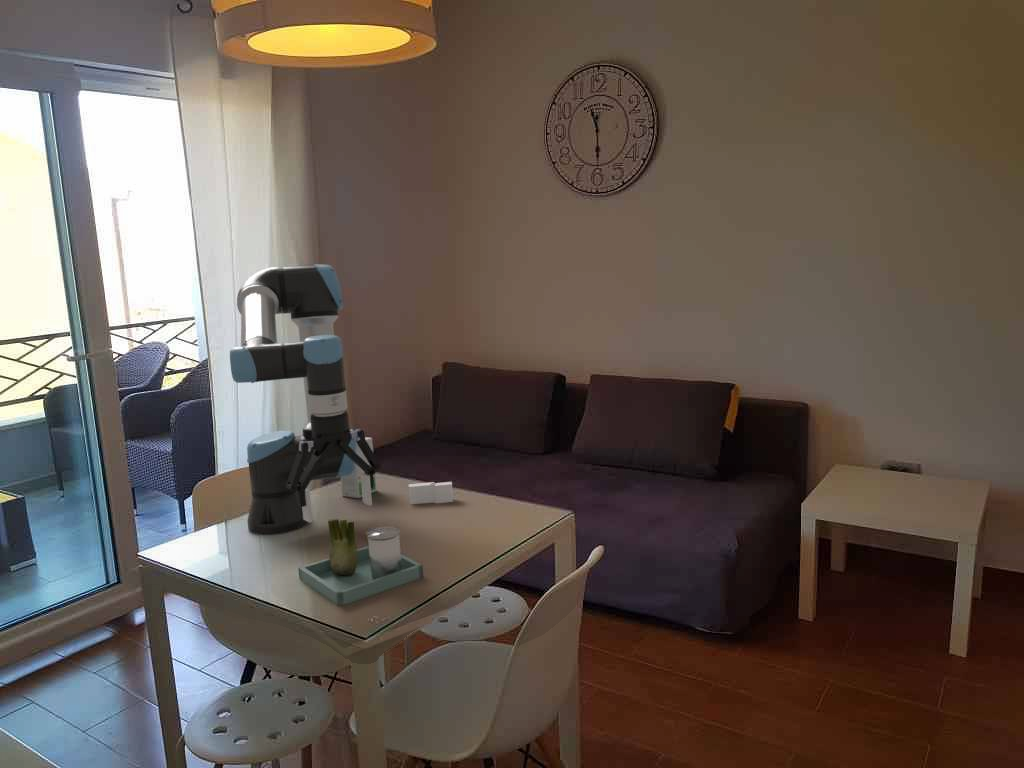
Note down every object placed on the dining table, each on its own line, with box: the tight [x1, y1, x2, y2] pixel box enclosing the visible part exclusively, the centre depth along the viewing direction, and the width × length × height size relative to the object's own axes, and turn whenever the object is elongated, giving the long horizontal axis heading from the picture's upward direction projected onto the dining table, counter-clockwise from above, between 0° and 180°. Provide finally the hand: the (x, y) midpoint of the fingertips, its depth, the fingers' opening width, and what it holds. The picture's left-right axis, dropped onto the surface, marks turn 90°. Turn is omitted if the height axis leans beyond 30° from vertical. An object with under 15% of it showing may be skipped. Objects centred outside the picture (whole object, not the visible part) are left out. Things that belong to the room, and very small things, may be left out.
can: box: [366, 526, 402, 581], centre depth 167 cm, size 7×7×10 cm
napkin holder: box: [408, 481, 454, 506], centre depth 219 cm, size 15×11×6 cm
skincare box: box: [340, 436, 378, 499], centre depth 229 cm, size 8×7×16 cm
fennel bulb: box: [327, 518, 358, 576], centre depth 171 cm, size 6×5×12 cm
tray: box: [298, 545, 424, 607], centre depth 169 cm, size 18×19×4 cm
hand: (338, 512), depth 170 cm, fingers open, 13 cm apart
